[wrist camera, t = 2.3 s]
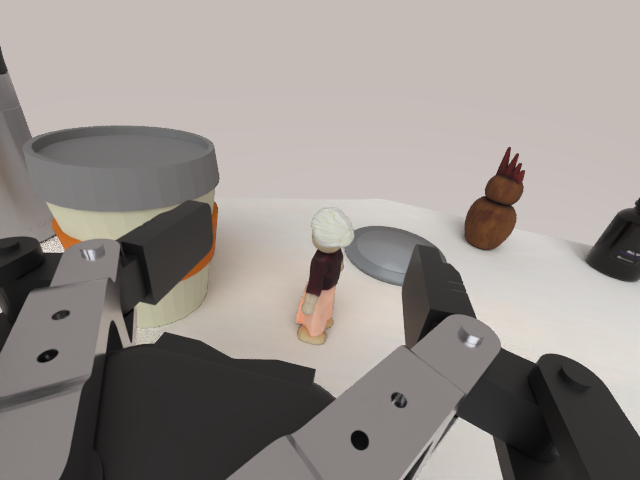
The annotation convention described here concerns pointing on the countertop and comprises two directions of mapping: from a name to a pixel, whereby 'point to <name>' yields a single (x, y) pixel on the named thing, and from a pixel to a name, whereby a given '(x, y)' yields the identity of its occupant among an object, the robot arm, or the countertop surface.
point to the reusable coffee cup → (125, 192)
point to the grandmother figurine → (323, 274)
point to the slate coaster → (384, 252)
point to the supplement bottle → (619, 247)
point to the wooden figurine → (496, 207)
